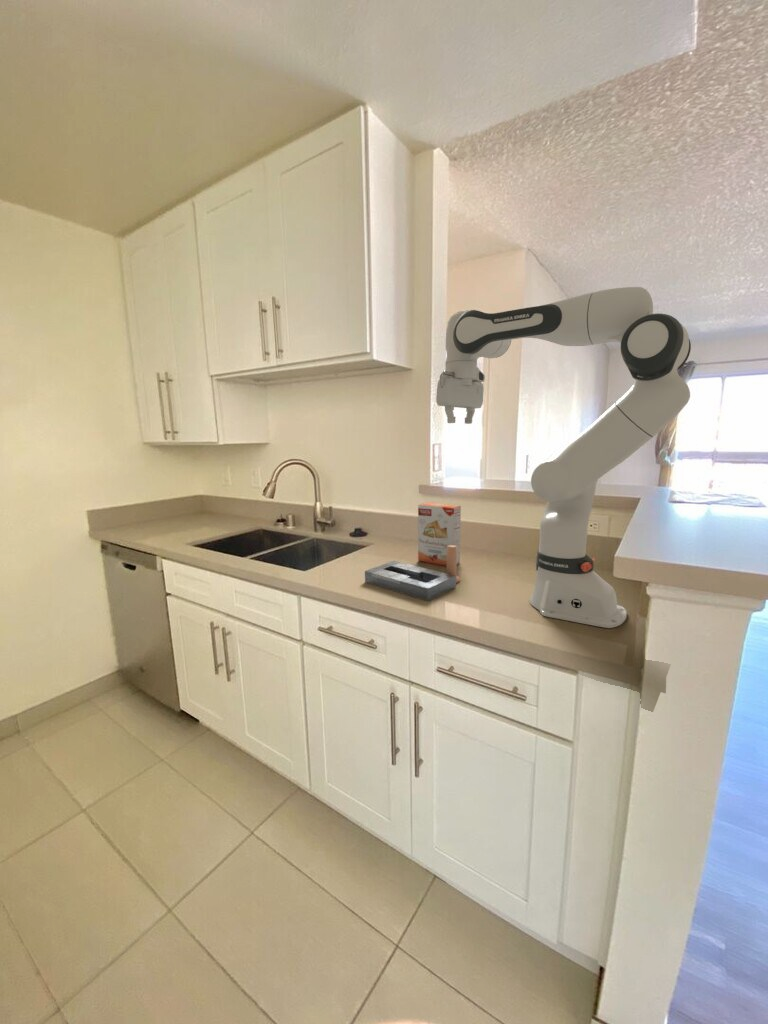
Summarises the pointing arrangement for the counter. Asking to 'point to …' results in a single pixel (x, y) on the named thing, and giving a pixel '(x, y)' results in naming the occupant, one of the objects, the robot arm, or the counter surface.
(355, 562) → the counter surface
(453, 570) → the peg
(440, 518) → the cracker box
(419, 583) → the keyhole board
